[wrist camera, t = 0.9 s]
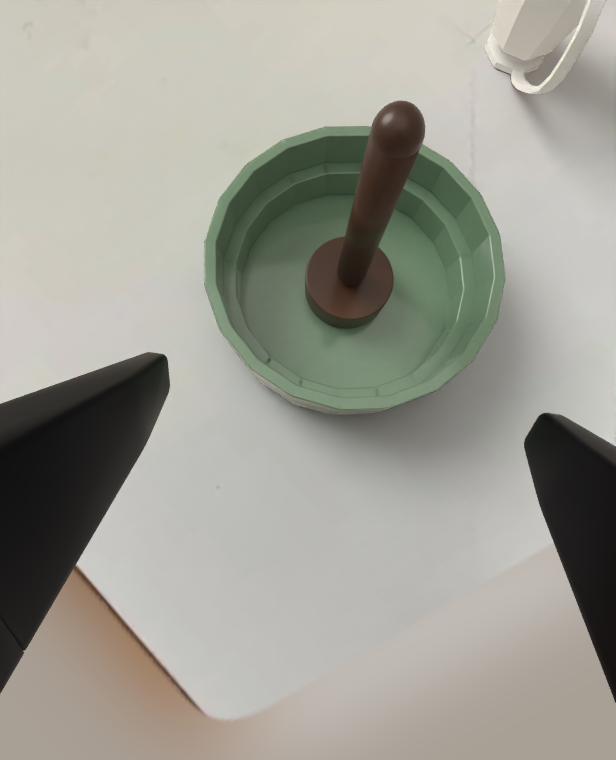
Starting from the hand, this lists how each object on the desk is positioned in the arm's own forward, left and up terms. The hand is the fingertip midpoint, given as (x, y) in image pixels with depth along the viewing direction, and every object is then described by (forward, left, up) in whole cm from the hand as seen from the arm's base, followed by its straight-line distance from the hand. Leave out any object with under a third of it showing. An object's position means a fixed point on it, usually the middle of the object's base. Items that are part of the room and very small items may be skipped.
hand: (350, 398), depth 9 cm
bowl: (+7, -4, -13) cm, 15 cm away
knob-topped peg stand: (+7, -4, -12) cm, 15 cm away
